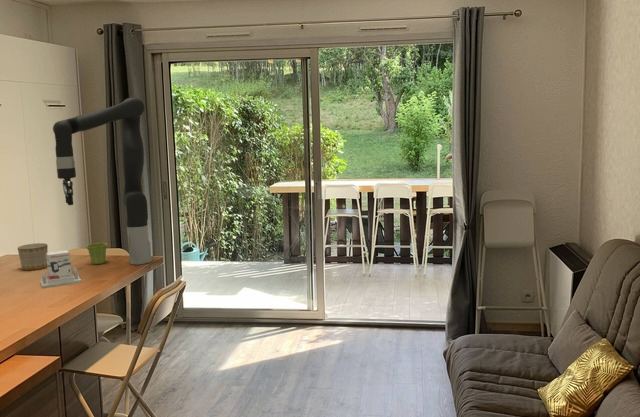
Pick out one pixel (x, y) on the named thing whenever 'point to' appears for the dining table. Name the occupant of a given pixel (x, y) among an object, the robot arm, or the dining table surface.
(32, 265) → the planter
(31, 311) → the dining table surface
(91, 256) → the plant pot
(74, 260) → the dining table surface
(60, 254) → the ink box
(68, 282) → the white pegged base plate
